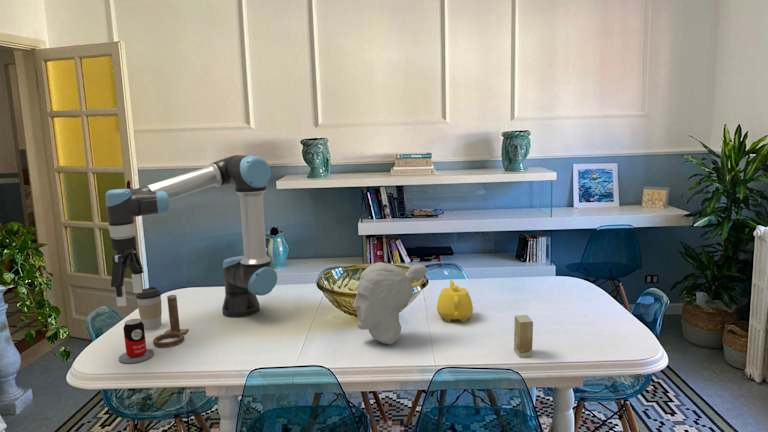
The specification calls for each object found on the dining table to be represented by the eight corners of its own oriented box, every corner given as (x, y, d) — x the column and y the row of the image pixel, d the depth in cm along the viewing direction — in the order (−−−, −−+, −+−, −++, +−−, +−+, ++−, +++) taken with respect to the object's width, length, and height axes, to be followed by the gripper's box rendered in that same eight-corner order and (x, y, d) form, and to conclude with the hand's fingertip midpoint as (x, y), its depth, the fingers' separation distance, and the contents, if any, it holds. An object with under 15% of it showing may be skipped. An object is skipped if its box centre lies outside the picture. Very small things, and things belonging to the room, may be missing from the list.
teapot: (438, 326, 210) (438, 293, 207) (435, 308, 229) (434, 278, 227) (475, 325, 209) (475, 292, 207) (469, 307, 229) (468, 277, 227)
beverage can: (123, 358, 187) (119, 324, 185) (132, 351, 194) (128, 318, 192) (141, 358, 187) (137, 324, 185) (150, 350, 193) (146, 317, 191)
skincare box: (513, 350, 186) (513, 314, 184) (526, 349, 187) (526, 314, 185) (519, 358, 180) (520, 321, 178) (532, 357, 180) (533, 321, 178)
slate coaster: (158, 349, 196) (158, 347, 196) (147, 363, 185) (147, 361, 185) (126, 351, 195) (126, 349, 195) (113, 364, 185) (113, 363, 184)
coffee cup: (155, 331, 213) (151, 293, 211) (134, 330, 215) (130, 292, 212) (169, 322, 222) (165, 286, 219) (148, 321, 224) (144, 285, 221)
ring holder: (191, 330, 213) (188, 293, 210) (179, 346, 198) (175, 306, 195) (164, 331, 212) (160, 294, 210) (149, 348, 197) (145, 308, 195)
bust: (352, 335, 203) (349, 260, 199) (422, 328, 208) (421, 255, 203) (357, 351, 189) (354, 271, 184) (432, 344, 193) (431, 265, 188)
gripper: (126, 229, 195) (133, 288, 199) (93, 245, 171) (102, 312, 174) (148, 228, 195) (154, 287, 199) (118, 244, 171) (126, 311, 175)
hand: (130, 299), depth 187 cm, fingers open, 13 cm apart
